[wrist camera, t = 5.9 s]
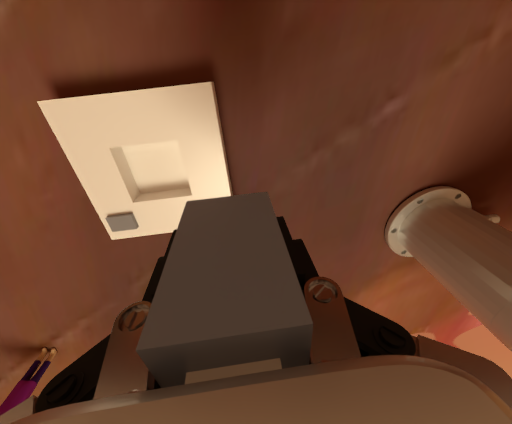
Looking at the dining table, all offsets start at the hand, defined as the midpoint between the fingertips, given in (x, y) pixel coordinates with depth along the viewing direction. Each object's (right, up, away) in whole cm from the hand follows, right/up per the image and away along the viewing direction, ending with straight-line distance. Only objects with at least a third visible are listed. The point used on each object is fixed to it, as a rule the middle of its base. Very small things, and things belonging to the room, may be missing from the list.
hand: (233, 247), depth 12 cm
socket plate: (-10, +8, +15) cm, 20 cm away
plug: (0, +1, +1) cm, 1 cm away
